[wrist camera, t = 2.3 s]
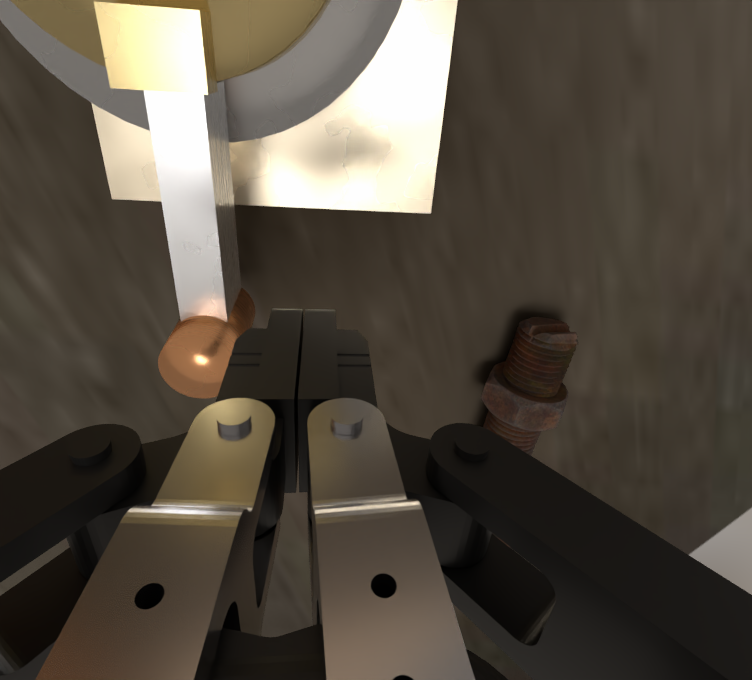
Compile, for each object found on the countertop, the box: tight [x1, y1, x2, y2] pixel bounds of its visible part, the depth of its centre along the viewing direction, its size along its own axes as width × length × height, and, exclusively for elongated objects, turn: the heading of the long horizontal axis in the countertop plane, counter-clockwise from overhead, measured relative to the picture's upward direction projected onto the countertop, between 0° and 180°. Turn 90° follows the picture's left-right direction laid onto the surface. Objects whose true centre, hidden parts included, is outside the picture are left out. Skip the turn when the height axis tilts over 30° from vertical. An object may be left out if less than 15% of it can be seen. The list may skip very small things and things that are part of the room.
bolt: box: [481, 317, 578, 548], centre depth 29 cm, size 6×5×15 cm
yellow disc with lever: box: [11, 0, 331, 398], centre depth 14 cm, size 20×10×4 cm, turn 176°
